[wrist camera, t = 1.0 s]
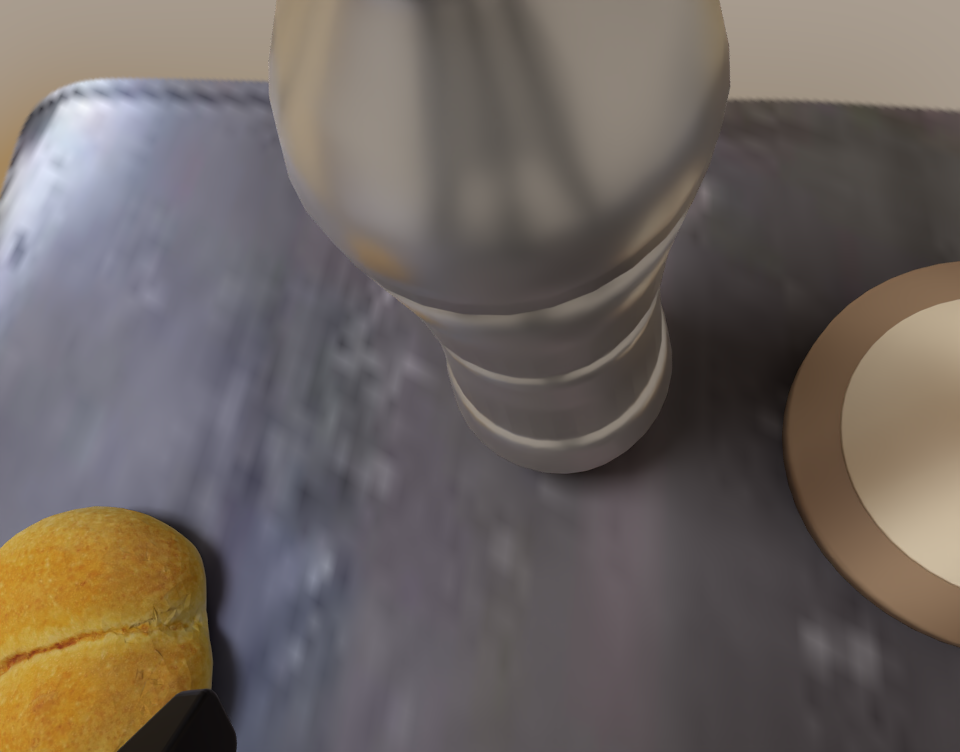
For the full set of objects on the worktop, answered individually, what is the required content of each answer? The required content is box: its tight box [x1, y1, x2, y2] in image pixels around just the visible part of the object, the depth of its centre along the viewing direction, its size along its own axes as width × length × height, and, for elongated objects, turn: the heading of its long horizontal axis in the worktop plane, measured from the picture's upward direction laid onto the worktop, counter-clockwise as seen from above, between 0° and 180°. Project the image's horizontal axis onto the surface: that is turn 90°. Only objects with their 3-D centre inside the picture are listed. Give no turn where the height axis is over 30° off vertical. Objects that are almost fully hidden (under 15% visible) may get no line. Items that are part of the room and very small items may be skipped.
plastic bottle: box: [269, 0, 730, 474], centre depth 15 cm, size 6×7×20 cm
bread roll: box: [0, 506, 213, 752], centre depth 22 cm, size 8×9×4 cm
